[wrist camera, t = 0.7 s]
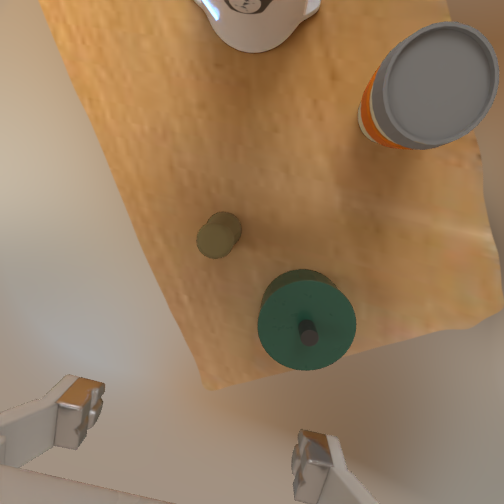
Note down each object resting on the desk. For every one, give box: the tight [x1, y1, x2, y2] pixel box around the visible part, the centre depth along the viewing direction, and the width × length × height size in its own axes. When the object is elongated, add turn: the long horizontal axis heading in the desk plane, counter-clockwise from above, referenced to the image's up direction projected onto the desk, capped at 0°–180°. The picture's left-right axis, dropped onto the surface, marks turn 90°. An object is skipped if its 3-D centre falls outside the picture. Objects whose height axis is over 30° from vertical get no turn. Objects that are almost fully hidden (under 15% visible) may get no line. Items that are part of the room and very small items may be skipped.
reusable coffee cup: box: [358, 22, 499, 150], centre depth 41 cm, size 13×13×15 cm
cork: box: [196, 212, 242, 259], centre depth 48 cm, size 6×6×11 cm
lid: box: [258, 279, 356, 370], centre depth 48 cm, size 15×15×5 cm
